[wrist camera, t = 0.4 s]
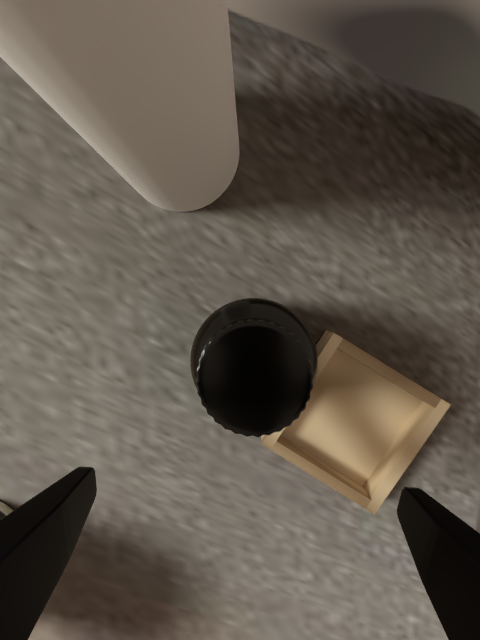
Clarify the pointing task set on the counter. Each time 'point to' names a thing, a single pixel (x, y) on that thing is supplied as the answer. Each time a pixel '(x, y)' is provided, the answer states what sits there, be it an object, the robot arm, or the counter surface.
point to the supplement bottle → (254, 366)
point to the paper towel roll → (136, 87)
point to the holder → (358, 424)
